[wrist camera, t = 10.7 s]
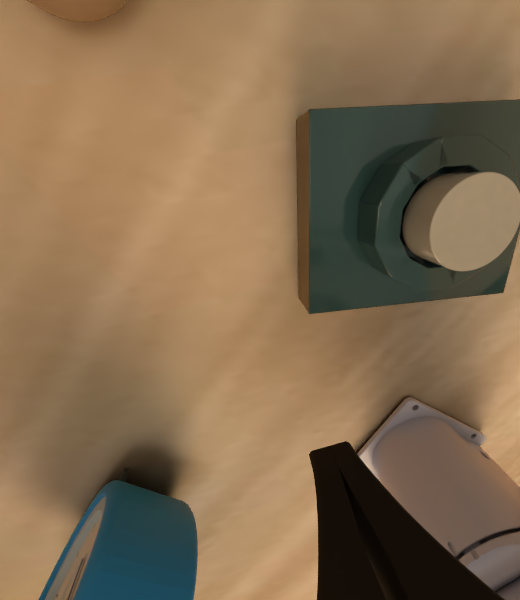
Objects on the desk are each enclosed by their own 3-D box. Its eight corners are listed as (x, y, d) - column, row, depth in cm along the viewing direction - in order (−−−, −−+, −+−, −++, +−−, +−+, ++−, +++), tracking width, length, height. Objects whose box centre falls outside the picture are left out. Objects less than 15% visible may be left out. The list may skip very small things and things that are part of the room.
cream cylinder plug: (490, 170, 14) (534, 168, 12) (472, 256, 15) (508, 267, 13) (407, 175, 13) (438, 175, 11) (397, 263, 15) (423, 275, 13)
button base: (508, 108, 17) (604, 85, 12) (471, 280, 20) (535, 305, 16) (296, 119, 16) (323, 97, 11) (298, 298, 19) (320, 330, 15)
